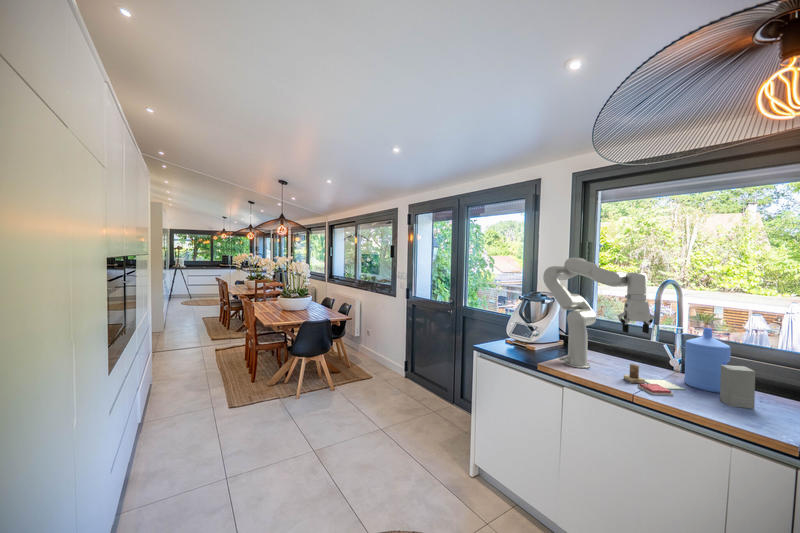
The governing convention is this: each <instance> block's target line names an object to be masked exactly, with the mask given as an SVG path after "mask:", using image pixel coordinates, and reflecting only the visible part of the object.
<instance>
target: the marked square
mask: <svg viewBox="0 0 800 533" xmlns="http://www.w3.org/2000/svg"><path fill="white" fill-rule="evenodd" d="M643 379H644V380H645V384H658V385H660V386H662V387H664V388H666V389H668V390H670V391H672V389H673V390H676V391H678V390H679V391H685V390H686V389H685V388H684V387H681V386H679V385H677V384H674V383H673V382H671V381H668V380H666V379H658V378H657V379H653V378H643Z"/></svg>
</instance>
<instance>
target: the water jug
mask: <svg viewBox="0 0 800 533" xmlns="http://www.w3.org/2000/svg"><path fill="white" fill-rule="evenodd" d="M702 330H703V331H702V336H699V337H694V338H690V339H687V340H685V345H684V350H685V351H684V352H685V354H684V355H685V357H684V358H685V359H684V376H683V377H684V380H683V381H684V383H685V384H686V385H688V386H690V387H692V388H695V389H698V390H701V391H704V392H705V391H706V392H711V393H716V394H717V393H719V394H720V383H721V365H728V363H729V362H730V361H731V355H732V350H731V346H730V345H728V344H726V343H724V342H723V341H720V340H718V339H716V338H714V337H713V328H710V327H709V328H708V327H702Z"/></svg>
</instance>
